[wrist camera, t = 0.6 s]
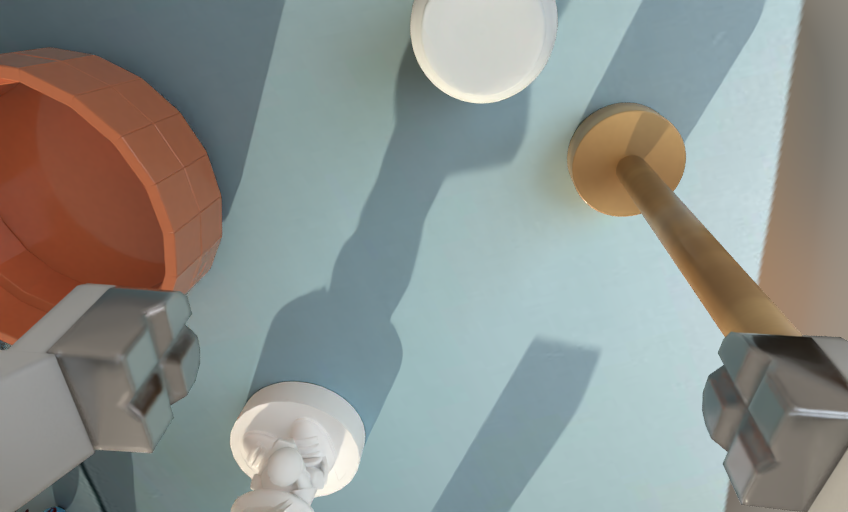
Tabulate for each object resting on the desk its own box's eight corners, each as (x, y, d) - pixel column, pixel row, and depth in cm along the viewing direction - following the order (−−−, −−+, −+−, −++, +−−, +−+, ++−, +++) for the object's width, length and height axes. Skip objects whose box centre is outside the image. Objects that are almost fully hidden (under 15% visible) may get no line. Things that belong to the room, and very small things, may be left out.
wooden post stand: (582, 94, 27) (725, 256, 11) (689, 112, 27) (1000, 305, 11) (555, 193, 30) (639, 453, 13) (653, 210, 29) (863, 495, 13)
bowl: (-57, 25, 29) (-181, 33, 24) (227, 74, 29) (166, 94, 23) (-2, 278, 36) (-89, 329, 30) (229, 321, 35) (182, 381, 30)
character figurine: (347, 374, 36) (286, 538, 25) (382, 481, 40) (343, 663, 29) (224, 388, 38) (118, 548, 27) (269, 490, 42) (192, 665, 31)
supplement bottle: (488, 101, 28) (487, 152, 19) (404, 28, 27) (364, 47, 18) (567, 10, 26) (605, 21, 17) (479, -74, 25) (473, -107, 16)
